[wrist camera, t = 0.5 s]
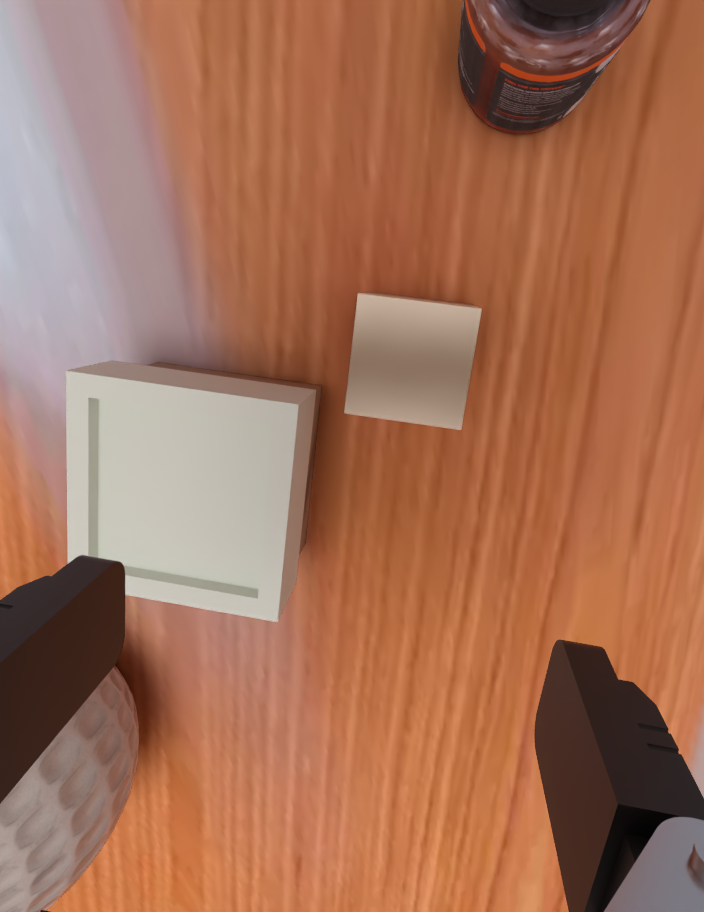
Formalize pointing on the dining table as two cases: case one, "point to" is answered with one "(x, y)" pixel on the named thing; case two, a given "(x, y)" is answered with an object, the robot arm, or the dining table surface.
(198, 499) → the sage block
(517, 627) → the dining table surface
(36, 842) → the vase
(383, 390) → the maple cube
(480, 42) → the supplement bottle
